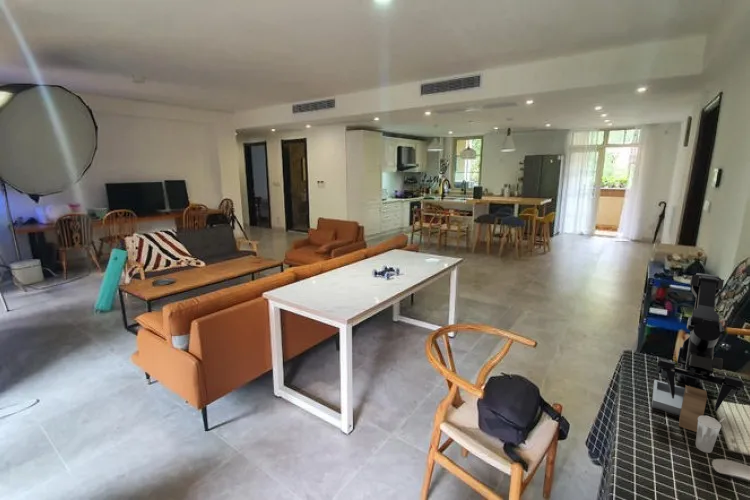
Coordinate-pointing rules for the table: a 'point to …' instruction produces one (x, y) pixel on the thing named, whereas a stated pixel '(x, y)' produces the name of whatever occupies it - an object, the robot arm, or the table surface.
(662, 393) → the tray
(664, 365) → the robot arm
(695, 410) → the block
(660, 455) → the table surface
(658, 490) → the table surface
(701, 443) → the milkshake
